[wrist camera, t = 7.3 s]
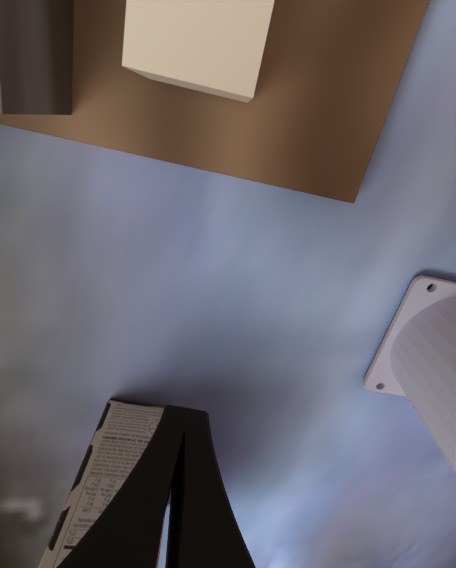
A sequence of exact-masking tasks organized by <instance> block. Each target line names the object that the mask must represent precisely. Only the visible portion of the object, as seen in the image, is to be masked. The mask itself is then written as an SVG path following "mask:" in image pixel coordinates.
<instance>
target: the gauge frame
mask: <svg viewBox="0 0 456 568" xmlns="http://www.w3.org/2000/svg"><path fill="white" fill-rule="evenodd" d="M428 3H429V0H275V1H274V5H273V10H272V14H271V19H270V23H269V28H268V33H267V37H266V42H265V46H264V51H263V55H262V60H261V65H260V69H259V74H258V78H257V83H256V88H255V92H254V97H253V99H251V100H250V101H249V102H248V103H246V102H242V101H238V100H233V99H229V98H225V97H221V96H217V95H213V94H209V93H205V92H201V91H197V90H193V89H188V88H184V87H180V86H176V85H172V84H168V83H164V82H160V81H156V80H152V79H149V78H147V77H144V76H142V75H140V74H138V73H136V72H134V71H132V70H130V69H128V68H126V67H123V66H122V56H123V42H124V28H125V14H126V0H0V124H2V125H7V126H11V127H16V128H20V129H24V130H29V131H33V132H38V133H42V134H47V135H51V136H56V137H60V138H64V139H69V140H73V141H78V142H82V143H87V144H91V145H96V146H100V147H104V148H109V149H113V150H118V151H122V152H127V153H131V154H136V155H140V156H145V157H149V158H153V159H158V160H162V161H167V162H171V163H176V164H180V165H185V166H189V167H193V168H198V169H202V170H207V171H211V172H216V173H220V174H225V175H229V176H234V177H238V178H242V179H247V180H251V181H256V182H260V183H265V184H269V185H274V186H278V187H282V188H287V189H291V190H296V191H300V192H305V193H309V194H314V195H318V196H323V197H327V198H331V199H336V200H340V201H345V202H349V203H354V202H355V199H356V197H357V194H358V191H359V188H360V186H361V183H362V180H363V178H364V175H365V172H366V170H367V167H368V164H369V161H370V159H371V156H372V153H373V151H374V148H375V145H376V143H377V140H378V137H379V135H380V132H381V129H382V126H383V124H384V121H385V118H386V116H387V113H388V110H389V108H390V105H391V102H392V100H393V97H394V94H395V91H396V89H397V86H398V83H399V81H400V78H401V75H402V73H403V70H404V67H405V65H406V62H407V59H408V56H409V54H410V51H411V48H412V46H413V43H414V40H415V38H416V35H417V32H418V29H419V27H420V24H421V21H422V19H423V16H424V13H425V11H426V8H427V5H428Z"/></svg>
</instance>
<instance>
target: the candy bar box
mask: <svg viewBox="0 0 456 568" xmlns="http://www.w3.org/2000/svg"><path fill="white" fill-rule="evenodd" d="M164 407H166V406H160V405H147V404H137V403H130V402H124V401H114V400H109V401H108V402H107V405H106V407H105V409H104V412H103V414H102V417H101V419H100V422H99V424H98V426H97V429H96V431H95V433H94V436H93V438H92V440H91V443H90V445H89V447H88V450H87V452H86V455H85V457H84V460H83V462H82V464H81V467H80V469H79V472H78V474H77V477H76V479H75V481H74V484H73V486H72V489H71V491H70V493H69V496H68V498H67V500H66V503H65V505H64V508H63V510H62V513H61V515H60V518H59V520H58V522H57V525H56V527H55V530H54V532H53V534H52V536H51V539H50V541H49V544H48V546H47V548H46V551H45V553H44V556H43V558H42V560H41V563H40V565H39V567H38V568H56V567H57V566H58V565H59V564H60V563H61V562H62V561H63V560H64V559H65V557H66V556H67V555H68V554H69V553H70V552H71V550H72V549H73V548H74V547H75V546H76V545H77V543H78V542H79V541H80V540H81V538H82V537H83V536H84V535H85V534H86V532H87V531H88V530H89V529H90V527H91V526H92V525H93V524H94V523H95V521H96V520H97V519H98V517H99V516H100V515H101V513H102V512H103V511H104V510H105V508H106V507H107V506H108V504H109V503H110V502H111V500H112V499H113V497H114V496H115V495H116V493H117V492H118V490H119V489H120V488H121V486H122V485H123V483H124V482H125V480H126V479H127V477H128V476H129V474H130V473H131V471H132V470H133V468H134V467H135V465H136V463H137V462H138V460H139V459H140V457H141V455H142V453H143V452H144V450H145V448H146V447H147V445H148V443H149V441H150V440H151V438H152V436H153V434H154V432H155V430H156V428H157V426H158V423H159V421H160V419H161V416H162V414H163V410H164ZM164 518H165V515H164ZM163 525H164V519H163ZM163 525H162V531H161V538H160V544H159V551H158V557H157V564H156V568H158V561H159V554H160V546H161V539H162V532H163Z"/></svg>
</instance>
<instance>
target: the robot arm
mask: <svg viewBox="0 0 456 568" xmlns="http://www.w3.org/2000/svg"><path fill="white" fill-rule="evenodd" d="M430 284H433V286H432V287H431V288H430V289H427V287H428V286H429V285H430ZM379 383H381V384H380V385H378V384H379ZM363 384H364V386H365V388H366V389H367V390H370V391H375V392H381V393H387V394H392V395H398V396H404V397H407V398H408V399H409V401H410V402H411V404H412V405H413V407H414V409H415V410H416V412H417V413H418V415H419V416H420V418H421V420H422V421H423V423H424V424H425V426H426V427H427V429H428V431H429V432H430V434H431V435H432V437H433V439H434V440H435V442H436V443H437V445H438V446H439V448H440V450H441V451H442V453H443V454H444V456H445V457H446V459H447V461H448V462H449V464H450V465H451V467H452V468H453V470H454V472H455V473H456V282H453V281H448V280H444V279H439V278H434V277H429V276H425V275H420V276H417V277H416V278H414V279H413V281H412V282H411V284H410V286H409V288H408V290H407V292H406V294H405V296H404V298H403V300H402V302H401V304H400V306H399V309H398V311H397V313H396V315H395V317H394V319H393V321H392V323H391V325H390V327H389V329H388V331H387V333H386V335H385V337H384V339H383V341H382V343H381V345H380V347H379V349H378V351H377V353H376V355H375V358H374V360H373V362H372V364H371V366H370V368H369V370H368V372H367V374H366V376H365V378H364V380H363ZM171 487H172V490H171ZM170 491H171V502H170V515H169V527H168V540H167V553H166V566H165V568H256V567H255V565H254V563H253V560H252V558H251V556H250V554H249V551H248V549H247V547H246V544H245V542H244V540H243V537H242V535H241V532H240V530H239V527H238V525H237V522H236V519H235V517H234V514H233V511H232V509H231V506H230V503H229V500H228V497H227V494H226V491H225V488H224V484H223V481H222V478H221V474H220V470H219V467H218V463H217V460H216V455H215V451H214V447H213V442H212V437H211V431H210V424H209V414H208V413H207V412H206V411H201V410H195V409H189V408H183V407H177V406H171V405H168V406H166V407H164V410H163V414H162V416H161V419H160V421H159V423H158V426H157V428H156V430H155V432H154V434H153V436H152V438H151V440H150V441H149V443H148V445H147V447H146V448H145V450H144V452H143V453H142V455H141V457H140V459H139V460H138V462H137V463H136V465H135V467H134V468H133V470H132V471H131V473H130V474H129V476H128V477H127V479H126V480H125V482H124V483H123V485H122V486H121V488H120V489H119V490H118V492H117V493H116V495H115V496H114V497H113V499H112V500H111V502H110V503H109V504H108V506H107V507H106V508H105V510H104V511H103V512H102V513H101V515H100V516H99V517H98V519H97V520H96V521H95V523H94V524H93V525H92V526H91V527H90V529H89V530H88V531H87V532H86V534H85V535H84V536H83V537H82V538H81V540H80V541H79V542H78V543H77V545H76V546H75V547H74V548H73V549H72V550H71V552H70V553H69V554H68V555H67V556H66V557H65V559H64V560H63V561H62V562H61V563H60V564H59V565H58V566H57V567H56V568H156V564H157V557H158V551H159V544H160V538H161V531H162V525H163V519H164V515H165V511H166V507H167V503H168V499H169V495H170Z"/></svg>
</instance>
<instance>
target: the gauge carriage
mask: <svg viewBox="0 0 456 568" xmlns="http://www.w3.org/2000/svg"><path fill="white" fill-rule="evenodd" d="M274 1H275V0H126V14H125V28H124V42H123V56H122V66H123V67H126V68H128V69H130V70H132V71H134V72H136V73H138V74H140V75H142V76H144V77H147V78H149V79H152V80H156V81H160V82H164V83H168V84H172V85H176V86H180V87H184V88H188V89H193V90H197V91H201V92H205V93H209V94H213V95H217V96H221V97H225V98H229V99H233V100H238V101H242V102H246V103H248V102H249V101H250V100H251V99H253V97H254V92H255V88H256V83H257V78H258V74H259V69H260V65H261V60H262V55H263V51H264V46H265V42H266V37H267V33H268V28H269V23H270V19H271V14H272V10H273V5H274Z"/></svg>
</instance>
